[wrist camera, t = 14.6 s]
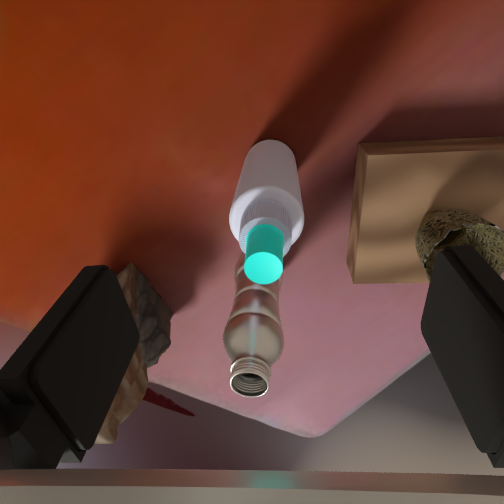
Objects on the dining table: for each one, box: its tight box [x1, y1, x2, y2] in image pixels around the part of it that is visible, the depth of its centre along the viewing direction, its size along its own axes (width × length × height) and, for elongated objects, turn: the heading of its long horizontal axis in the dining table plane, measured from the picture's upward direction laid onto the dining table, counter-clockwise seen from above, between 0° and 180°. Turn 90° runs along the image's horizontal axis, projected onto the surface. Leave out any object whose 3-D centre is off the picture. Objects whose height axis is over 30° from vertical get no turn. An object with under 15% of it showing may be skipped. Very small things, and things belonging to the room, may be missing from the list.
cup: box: [415, 209, 504, 282], centre depth 34 cm, size 8×7×8 cm
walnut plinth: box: [347, 136, 504, 284], centre depth 39 cm, size 16×16×5 cm
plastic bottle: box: [223, 254, 284, 398], centre depth 39 cm, size 6×7×20 cm
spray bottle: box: [229, 140, 304, 284], centre depth 31 cm, size 6×6×22 cm
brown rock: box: [95, 263, 172, 444], centre depth 45 cm, size 13×13×20 cm
